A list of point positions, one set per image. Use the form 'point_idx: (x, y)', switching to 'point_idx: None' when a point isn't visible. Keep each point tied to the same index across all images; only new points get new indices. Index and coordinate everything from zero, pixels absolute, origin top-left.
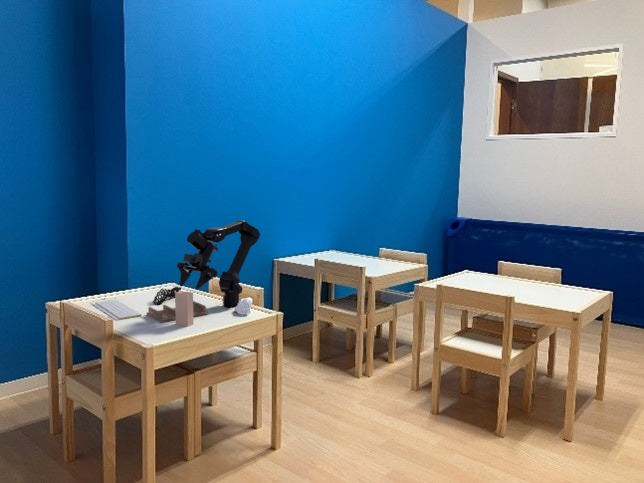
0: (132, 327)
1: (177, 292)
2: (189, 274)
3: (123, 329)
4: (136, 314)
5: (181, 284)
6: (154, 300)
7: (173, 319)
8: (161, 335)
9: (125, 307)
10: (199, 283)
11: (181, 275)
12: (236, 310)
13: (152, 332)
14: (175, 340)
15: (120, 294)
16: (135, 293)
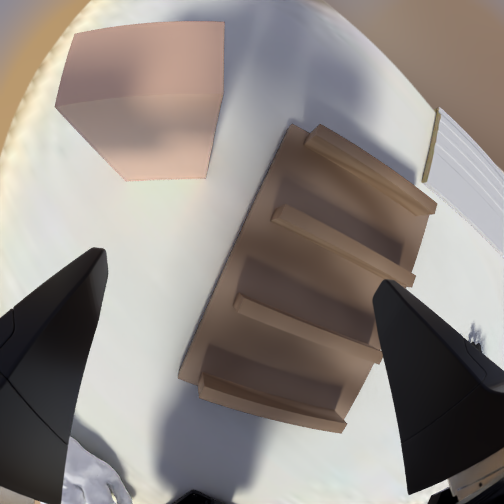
0: (335, 46)
1: (213, 37)
2: (420, 480)
3: (340, 24)
4: (437, 173)
5: (386, 300)
6: (478, 348)
7: (264, 182)
8: (163, 11)
9: (501, 237)
10: (40, 293)
11: (478, 360)
12: (74, 444)
13: (220, 20)
14: (87, 7)
15: None
16: None
